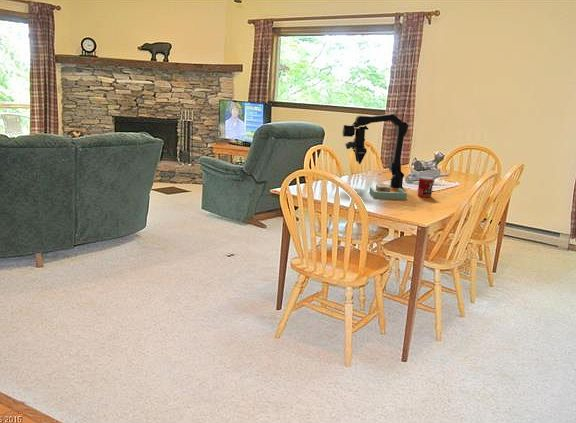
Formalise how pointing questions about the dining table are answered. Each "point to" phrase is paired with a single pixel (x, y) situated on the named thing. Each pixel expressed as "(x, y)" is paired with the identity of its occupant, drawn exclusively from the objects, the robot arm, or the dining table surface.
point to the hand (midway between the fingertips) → (358, 162)
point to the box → (389, 194)
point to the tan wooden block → (382, 188)
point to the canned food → (425, 186)
